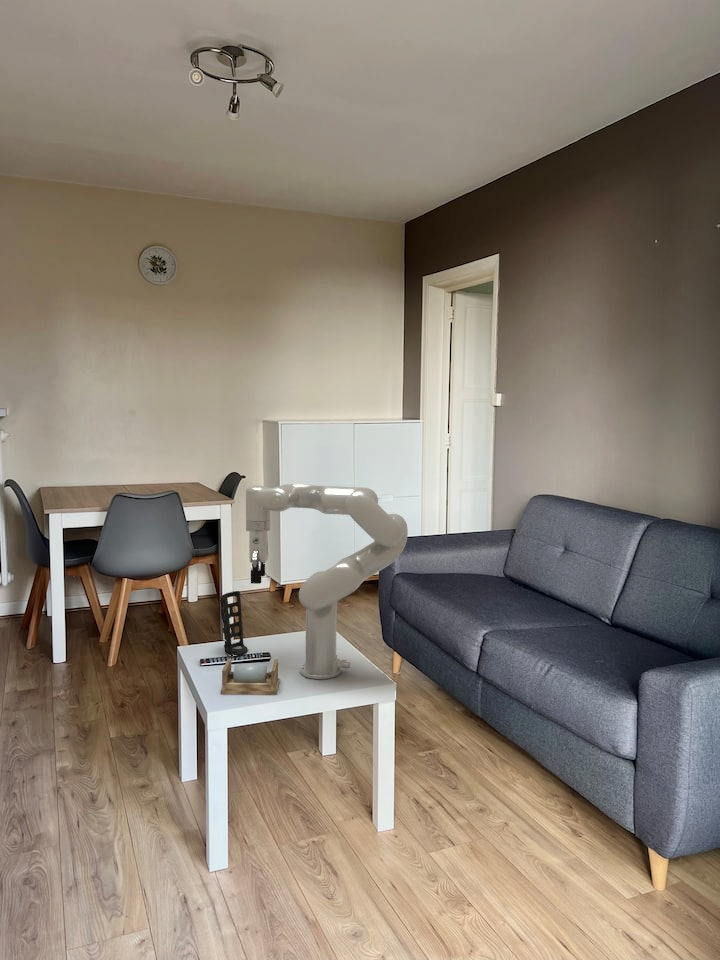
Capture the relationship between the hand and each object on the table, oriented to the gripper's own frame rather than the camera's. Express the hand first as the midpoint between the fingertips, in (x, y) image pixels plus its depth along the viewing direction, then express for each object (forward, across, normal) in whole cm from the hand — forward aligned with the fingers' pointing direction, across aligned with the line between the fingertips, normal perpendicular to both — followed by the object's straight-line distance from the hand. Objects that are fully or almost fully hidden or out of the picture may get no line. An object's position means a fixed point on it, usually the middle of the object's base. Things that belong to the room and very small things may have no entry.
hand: (258, 579), depth 226 cm
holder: (+28, +14, +10) cm, 33 cm away
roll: (+27, -17, 0) cm, 32 cm away
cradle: (+28, -17, 0) cm, 33 cm away
